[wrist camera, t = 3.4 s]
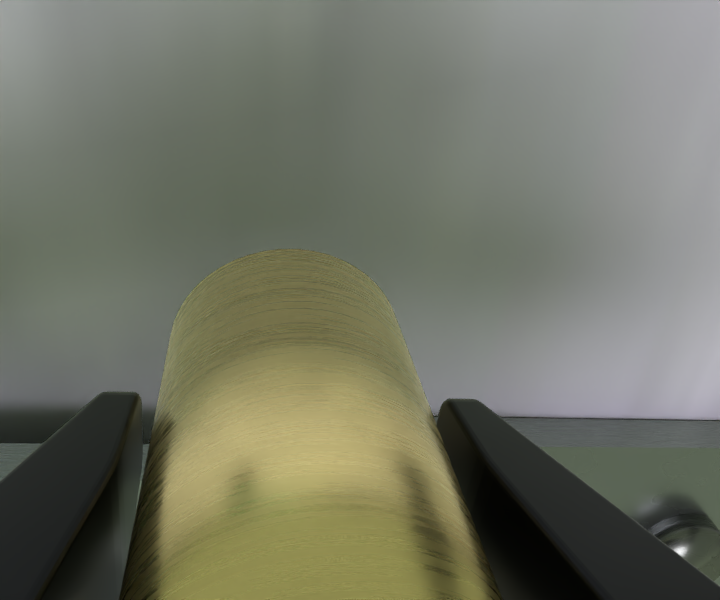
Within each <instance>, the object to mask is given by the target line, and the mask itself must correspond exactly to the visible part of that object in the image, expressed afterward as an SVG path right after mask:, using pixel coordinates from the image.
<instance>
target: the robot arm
mask: <svg viewBox="0 0 720 600" xmlns="http://www.w3.org/2000/svg"><path fill="white" fill-rule="evenodd" d="M436 425H437V427H438V430H439V433H440V435H441V438H442V441H443V443H444V446H445V448H446V451H447V454H448V456H449V459H450V462H451V464H452V467H453V470H454V472H455V475H456V477H457V480H458V483H459V485H460V488H461V491H462V493H463V496H464V499H465V501H466V504H467V506H468V509H469V512H470V514H471V517H472V520H473V522H474V525H475V528H476V530H477V533H478V535H479V538H480V541H481V543H482V546H483V549H484V551H485V554H486V557H487V559H488V562H489V564H490V567H491V570H492V572H493V575H494V578H495V580H496V583H497V585H498V588H499V591H500V593H501V596H502V599H503V600H720V586H719V585H718V584H717V583H716V582H714V581H713V580H712V579H710V578H709V577H708V576H706V575H705V574H704V573H702V572H701V571H700V570H699V569H697V568H696V567H695V566H693V565H692V564H691V563H689V562H688V561H687V560H686V559H684V558H683V557H682V556H680V555H679V554H678V553H676V552H675V551H674V550H673V549H671V548H670V547H669V546H667V545H666V544H665V543H663V542H662V541H661V540H660V539H658V538H657V537H656V536H654V535H653V534H652V533H650V532H649V531H648V530H646V529H645V528H644V527H643V526H641V525H640V524H639V523H637V522H636V521H635V520H633V519H632V518H631V517H630V516H628V515H627V514H626V513H624V512H623V511H622V510H620V509H619V508H618V507H617V506H615V505H614V504H613V503H611V502H610V501H609V500H607V499H606V498H605V497H604V496H602V495H601V494H600V493H598V492H597V491H596V490H594V489H593V488H592V487H590V486H589V485H588V484H587V483H585V482H584V481H583V480H581V479H580V478H579V477H577V476H576V475H575V474H574V473H572V472H571V471H570V470H568V469H567V468H566V467H564V466H563V465H562V464H561V463H559V462H558V461H557V460H555V459H554V458H553V457H551V456H550V455H549V454H548V453H546V452H545V451H544V450H542V449H541V448H540V447H538V446H537V445H536V444H534V443H533V442H532V441H531V440H529V439H528V438H527V437H525V436H524V435H523V434H521V433H520V432H519V431H518V430H516V429H515V428H514V427H512V426H511V425H510V424H508V423H507V422H506V421H505V420H503V419H502V418H501V417H499V416H498V415H497V414H495V413H494V412H493V411H492V410H490V409H489V408H488V407H486V406H485V405H484V404H482V403H481V402H479V401H478V400H475V399H447V400H446V401H444V402H443V404H442V406H441V408H440V411H439V415H438V419H437V424H436ZM142 460H143V433H142V402H141V397H140V396H139V394H138V393H136V392H103V393H100V394H99V395H97V396H96V397H95V398H94V399H93V400H92V401H91V402H89V403H88V404H87V405H86V406H85V407H84V408H83V409H81V410H80V411H79V412H78V413H77V414H76V415H75V416H73V417H72V418H71V419H70V420H69V421H68V422H67V423H65V424H64V425H63V426H62V427H61V428H60V429H59V430H57V431H56V432H55V433H54V434H53V435H52V436H50V437H49V438H48V439H47V440H46V441H45V442H44V443H42V444H41V445H40V446H39V447H38V448H37V449H36V450H34V451H33V452H32V453H31V454H30V455H29V456H28V457H26V458H25V459H24V460H23V461H22V462H21V463H20V464H18V465H17V466H16V467H15V468H14V469H13V470H12V471H10V472H9V473H8V474H7V475H6V476H5V477H4V478H2V479H1V480H0V600H119V597H120V591H121V586H122V581H123V576H124V571H125V566H126V561H127V556H128V550H129V545H130V540H131V535H132V530H133V525H134V520H135V513H136V506H137V499H138V492H139V484H140V477H141V470H142Z"/></svg>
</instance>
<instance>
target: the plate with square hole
mask: <svg viewBox="0 0 720 600" xmlns="http://www.w3.org/2000/svg"><path fill="white" fill-rule="evenodd" d="M434 419H435V422H436V424H437V419H438V417H434ZM502 419H503V420H505V421H506V422H507V423H508V424H510V425H511V426H512V427H514V428H515V429H516V430H518V431H519V432H520V433H521V434H523V435H524V436H525V437H527V438H528V439H529V440H531V441H532V442H533V443H534V444H536V445H537V446H538V447H540V448H541V449H542V450H544V451H545V452H546V453H548V454H549V455H550V456H551V457H553V458H554V459H555V460H557V461H558V462H559V463H561V464H562V465H563V466H564V467H566V468H567V469H568V470H570V471H571V472H572V473H574V474H575V475H576V476H577V477H579V478H580V479H581V480H583V481H584V482H585V483H587V484H588V485H589V486H590V487H592V488H593V489H594V490H596V491H597V492H598V493H600V494H601V495H602V496H604V497H605V498H606V499H607V500H609V501H610V502H611V503H613V504H614V505H615V506H617V507H618V508H619V509H620V510H622V511H623V512H624V513H626V514H627V515H628V516H630V517H631V518H632V519H633V520H635V521H636V522H637V523H639V524H640V525H641V526H643V527H644V528H645V529H646V530H648V531H649V532H650V533H652V534H653V535H654V536H656V537H657V538H658V539H660V540H661V541H662V542H663V543H665V544H666V545H667V546H669V547H670V548H671V549H673V550H674V551H675V552H676V553H678V554H679V555H680V556H682V557H683V558H684V559H686V560H687V561H688V562H689V563H691V564H692V565H693V566H695V567H696V568H697V569H699V570H700V571H701V572H702V573H704V574H705V575H706V576H708V577H709V578H710V579H712V580H713V581H714V582H716V583H717V584H718V585H719V586H720V421H683V420H620V419H556V418H502ZM41 444H42V443H0V480H1V479H2V478H4V477H5V476H6V475H7V474H8V473H9V472H10V471H12V470H13V469H14V468H15V467H16V466H17V465H18V464H20V463H21V462H22V461H23V460H24V459H25V458H26V457H28V456H29V455H30V454H31V453H32V452H33V451H34V450H36V449H37V448H38V447H39V446H40V445H41ZM148 448H149V444H143V460H142V470H141V477H140V484H139V492H138V499H139V494H140V489H141V484H142V479H143V473H144V468H145V463H146V458H147V453H148ZM138 499H137V504H138ZM136 509H137V506H136ZM135 515H136V513H135Z"/></svg>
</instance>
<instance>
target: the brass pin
mask: <svg viewBox="0 0 720 600" xmlns="http://www.w3.org/2000/svg"><path fill="white" fill-rule="evenodd" d="M119 600H503V599H502V596H501V593H500V591H499V588H498V585H497V583H496V580H495V578H494V575H493V572H492V570H491V567H490V564H489V562H488V559H487V557H486V554H485V551H484V549H483V546H482V543H481V541H480V538H479V535H478V533H477V530H476V528H475V525H474V522H473V520H472V517H471V514H470V512H469V509H468V506H467V504H466V501H465V499H464V496H463V493H462V491H461V488H460V485H459V483H458V480H457V477H456V475H455V472H454V470H453V467H452V464H451V462H450V459H449V456H448V454H447V451H446V448H445V446H444V443H443V441H442V438H441V435H440V433H439V430H438V427H437V425H436V422H435V419H434V417H433V414H432V412H431V409H430V406H429V404H428V401H427V398H426V396H425V393H424V391H423V388H422V385H421V383H420V380H419V377H418V375H417V372H416V369H415V367H414V364H413V362H412V359H411V356H410V354H409V351H408V348H407V346H406V343H405V340H404V338H403V335H402V333H401V330H400V327H399V325H398V322H397V319H396V317H395V314H394V311H393V309H392V307H391V305H390V303H389V301H388V299H387V297H386V296H385V295H384V293H383V292H382V291H381V289H380V288H379V287H378V285H377V284H376V283H374V282H373V281H372V280H371V279H370V278H369V277H368V276H367V275H366V274H364V273H363V272H362V271H360V270H359V269H358V268H356V267H354V266H353V265H351V264H349V263H347V262H345V261H343V260H341V259H338V258H336V257H333V256H331V255H328V254H324V253H320V252H315V251H309V250H301V249H277V250H268V251H262V252H258V253H254V254H250V255H247V256H244V257H241V258H239V259H236V260H233V261H232V262H230V263H228V264H226V265H224V266H222V267H220V268H218V269H217V270H216V271H214V272H213V273H211V274H210V275H208V276H207V277H206V278H205V279H204V280H202V281H201V282H200V283H199V284H198V285H197V286H196V287H195V288H194V289H193V290H192V292H191V293H190V294H189V295H188V296H187V298H186V299H185V301H184V302H183V304H182V306H181V307H180V309H179V311H178V313H177V316H176V318H175V320H174V323H173V327H172V331H171V335H170V340H169V345H168V350H167V355H166V361H165V366H164V371H163V376H162V381H161V386H160V391H159V396H158V402H157V407H156V412H155V417H154V422H153V427H152V432H151V438H150V443H149V448H148V453H147V458H146V463H145V468H144V473H143V479H142V484H141V489H140V494H139V499H138V504H137V509H136V515H135V520H134V525H133V530H132V535H131V540H130V545H129V550H128V556H127V561H126V566H125V571H124V576H123V581H122V586H121V591H120V597H119Z"/></svg>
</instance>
